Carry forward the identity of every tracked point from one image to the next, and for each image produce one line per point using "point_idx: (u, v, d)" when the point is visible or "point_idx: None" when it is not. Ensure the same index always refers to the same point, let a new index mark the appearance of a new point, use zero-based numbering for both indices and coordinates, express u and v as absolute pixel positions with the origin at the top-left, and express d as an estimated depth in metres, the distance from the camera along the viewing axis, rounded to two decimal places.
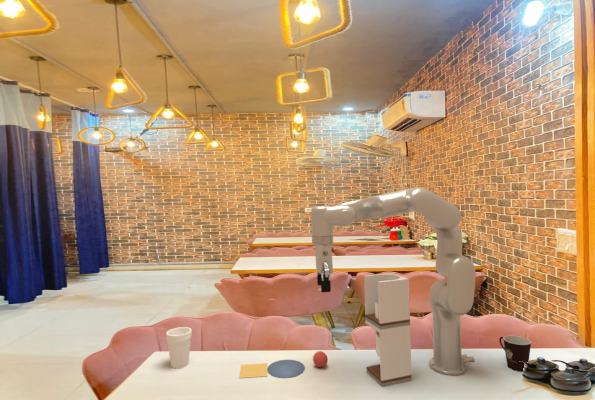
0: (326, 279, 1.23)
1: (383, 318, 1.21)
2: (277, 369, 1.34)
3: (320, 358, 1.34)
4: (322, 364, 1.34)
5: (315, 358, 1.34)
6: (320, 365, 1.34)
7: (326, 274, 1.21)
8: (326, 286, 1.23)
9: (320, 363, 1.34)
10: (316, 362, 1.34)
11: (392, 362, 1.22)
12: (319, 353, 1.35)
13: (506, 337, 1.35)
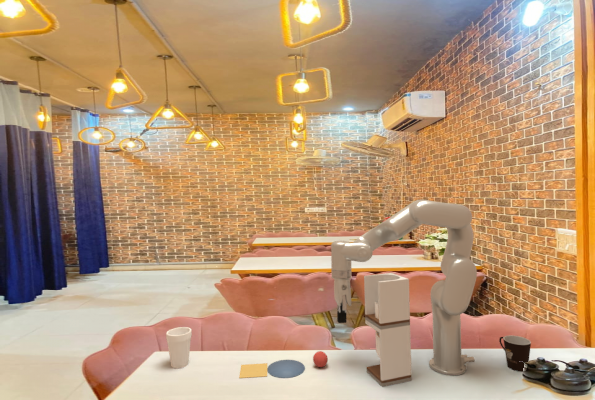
0: (343, 311, 1.35)
1: (383, 318, 1.21)
2: (277, 369, 1.34)
3: (320, 358, 1.34)
4: (322, 364, 1.34)
5: (315, 358, 1.34)
6: (320, 365, 1.34)
7: (343, 310, 1.33)
8: (342, 317, 1.35)
9: (320, 363, 1.34)
10: (316, 362, 1.34)
11: (392, 362, 1.22)
12: (319, 353, 1.35)
13: (506, 337, 1.35)
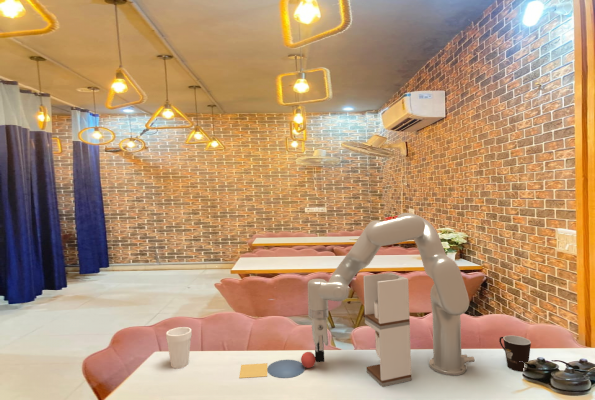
0: (320, 351, 1.34)
1: (383, 318, 1.21)
2: (277, 369, 1.34)
3: (305, 360, 1.34)
4: (311, 363, 1.34)
5: (303, 363, 1.34)
6: (310, 365, 1.34)
7: None
8: (320, 357, 1.35)
9: (309, 364, 1.33)
10: (305, 366, 1.34)
11: (392, 362, 1.22)
12: (302, 356, 1.35)
13: (506, 337, 1.35)
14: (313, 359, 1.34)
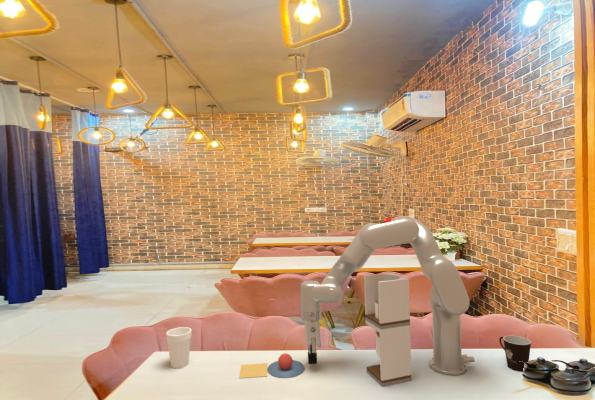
0: (313, 353, 1.34)
1: (383, 318, 1.21)
2: (277, 369, 1.34)
3: (288, 367, 1.33)
4: (284, 363, 1.33)
5: (291, 363, 1.34)
6: (285, 361, 1.33)
7: None
8: (313, 359, 1.35)
9: (286, 363, 1.33)
10: (289, 361, 1.33)
11: (392, 362, 1.22)
12: (289, 367, 1.35)
13: (506, 337, 1.35)
14: (280, 364, 1.33)
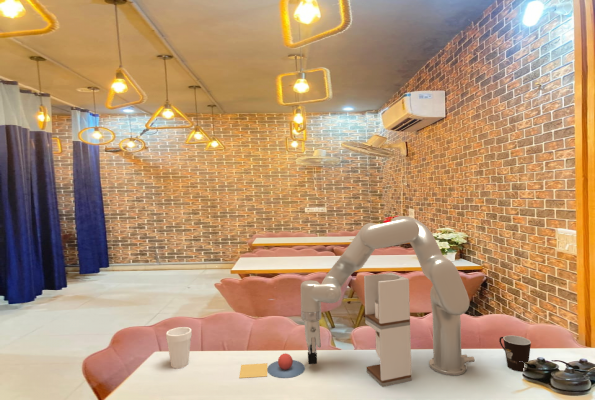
0: (313, 353, 1.34)
1: (383, 318, 1.21)
2: (277, 369, 1.34)
3: (288, 367, 1.33)
4: (284, 363, 1.33)
5: (291, 363, 1.34)
6: (285, 361, 1.33)
7: None
8: (313, 359, 1.35)
9: (286, 363, 1.33)
10: (289, 361, 1.33)
11: (392, 362, 1.22)
12: (289, 367, 1.35)
13: (506, 337, 1.35)
14: (280, 364, 1.33)
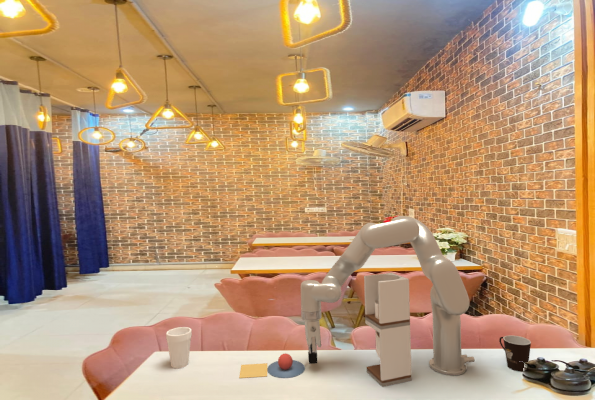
0: (313, 352, 1.34)
1: (383, 318, 1.21)
2: (277, 369, 1.34)
3: (288, 367, 1.33)
4: (284, 363, 1.33)
5: (291, 363, 1.34)
6: (285, 361, 1.33)
7: None
8: (313, 358, 1.35)
9: (286, 363, 1.33)
10: (289, 361, 1.33)
11: (392, 362, 1.22)
12: (289, 367, 1.35)
13: (506, 337, 1.35)
14: (280, 364, 1.33)
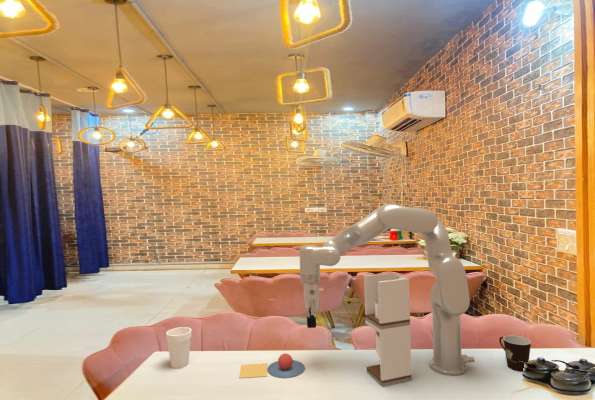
0: (312, 316, 1.34)
1: (383, 318, 1.21)
2: (277, 369, 1.34)
3: (288, 367, 1.33)
4: (284, 363, 1.33)
5: (291, 363, 1.34)
6: (285, 361, 1.33)
7: (312, 315, 1.32)
8: (312, 322, 1.34)
9: (286, 363, 1.33)
10: (289, 361, 1.33)
11: (392, 362, 1.22)
12: (289, 367, 1.35)
13: (506, 337, 1.35)
14: (280, 364, 1.33)
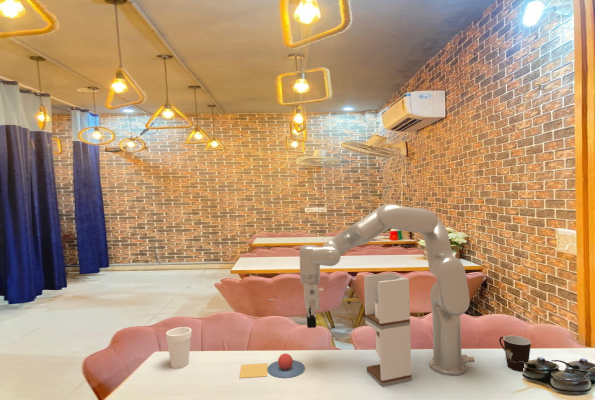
0: (312, 316, 1.34)
1: (383, 318, 1.21)
2: (277, 369, 1.34)
3: (288, 367, 1.33)
4: (284, 363, 1.33)
5: (291, 363, 1.34)
6: (285, 361, 1.33)
7: (312, 315, 1.32)
8: (312, 322, 1.34)
9: (286, 363, 1.33)
10: (289, 361, 1.33)
11: (392, 362, 1.22)
12: (289, 367, 1.35)
13: (506, 337, 1.35)
14: (280, 364, 1.33)
